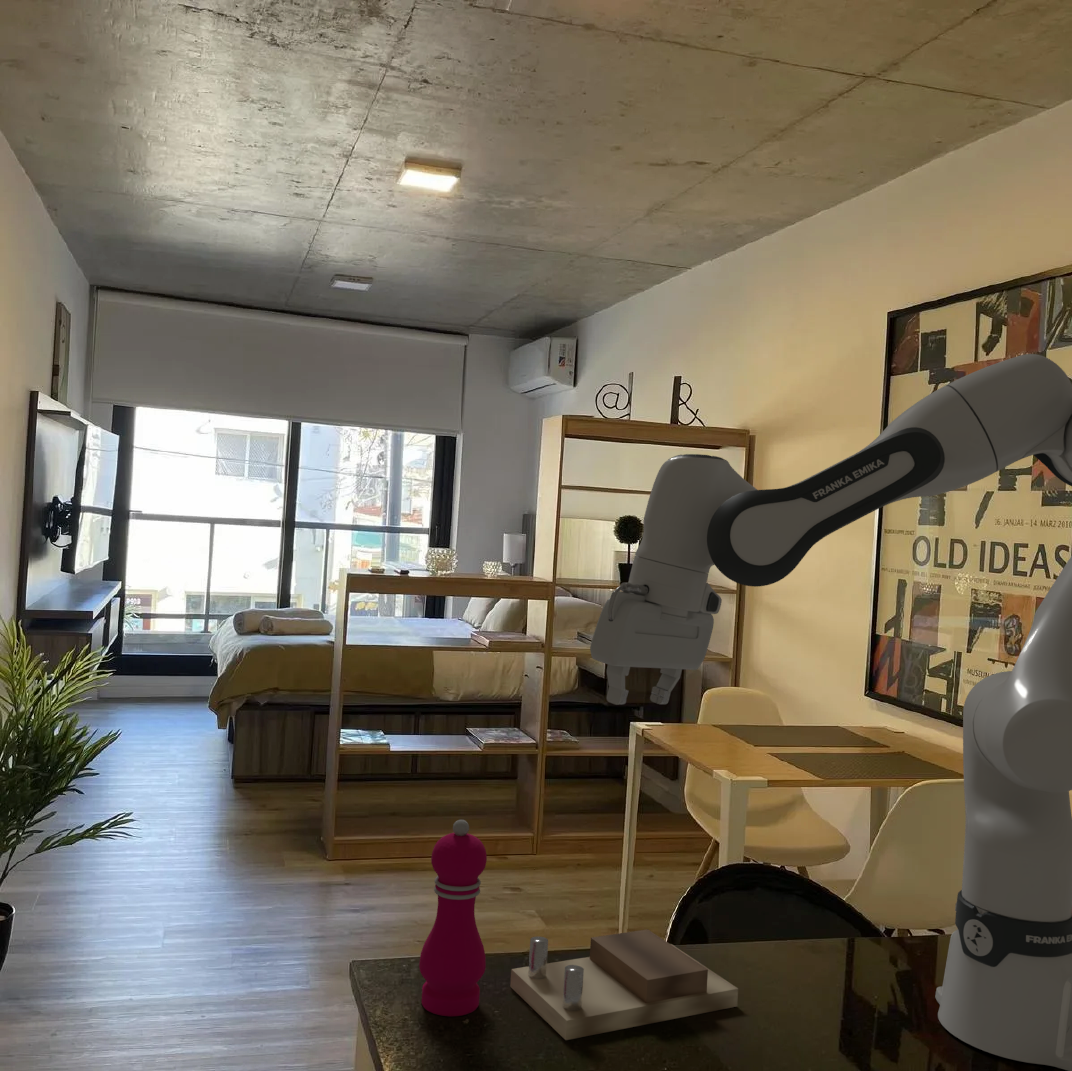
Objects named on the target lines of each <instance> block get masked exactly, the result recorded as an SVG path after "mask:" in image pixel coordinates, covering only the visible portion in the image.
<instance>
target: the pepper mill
mask: <svg viewBox="0 0 1072 1071" xmlns="http://www.w3.org/2000/svg"><path fill="white" fill-rule="evenodd" d="M469 831H470V825H469V823H468V822H467V820H465V819H458V820H456V821H455V822H454V823H453V824H452V832H450V833H447V834H445V835H444V836H442V837H440V838H439V839H438V840H437V842H436V843H435V844H434V847H433V849H432V852H431V856H430V857H431V860H430V862H431V865H432V868H433V870H434V872H435V873H436V875H437V876H436V877H435V878H434V884H435V886H434V888H433V891H434V893H435V894H436V895H437V909H436V910H437V911H436V917H435V921H434V923H433V925H432V928H431V930H430V932H429V934H428V936H427V938H426V939H425V942H424V943H423V946H422V948H421V951H420V957H419V964H418V967H419V972H420V974H421V976H422V977H423V979H424V980H425V982H424V983H423V984H422V988H421V1005H422V1007H423V1008H424V1009H425V1010H426V1011H428V1012H429V1013H431V1014H434V1015H438V1016H442V1017H460V1016H461V1017H462V1016H465V1015H466V1016H467V1015H468V1014H471V1013H473V1012H475V1011H476V1010H477V1008H478V1007H479V1005H480V992H481V991H480V990H481V988H480V986H479V985H478V982H479V981H480V979H482V977H483V975H484V974H485V972H486V968H487V966H486V964H487V962H486V961H487V960H486V953H485V952H486V951H485V947H484V944H483V941H482V937H481V936H480V932H479V929H478V926H477V924H476V916H475V907H476V906H475V904H476V899H477V896H479V895H480V894H481V888H480V886H481V884H482V881H481V879H480V878H479V877H480V875H481V874H482V873H484V872H483V871H485V868H486V867H487V866H486V865H487V861H488V860H487V859H488V858H487V857H488V856H487V850H486V848H485V844H483V843H484V842H482V841H481V839H480V838H478V837H476V836H475V835H473V834H471V833H469Z"/></svg>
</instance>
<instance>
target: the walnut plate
mask: <svg viewBox="0 0 1072 1071" xmlns="http://www.w3.org/2000/svg"><path fill="white" fill-rule="evenodd" d="M671 944H672V943H669V942H668V941H666V940H664V939H663V938H661V936H659V935H657V934H656V933H654V932H652V931H651V930H649V929H642V930H641V929H640V930H635V931H627V932H621V933H620V932H619V933H613V934H607V935H599V936H593V937H590V944H589V945H590V947H589V957H590V960H592V961H593V962H594V963H596V964H597V965H598V966H599V967H601V968H602V969H603V970H604V971H606V972H607V973H608V974H609V975H611V976H612V977H613V978H615V979H616V980H617V981H618V982H620V983H621V984H622V985H623V986H625V987H626V988H627V989H629V990H630V991H631V992H632V993H634V994H635V995H636V996H637V997H639V998H640V999H641V1000H642V1001H644V1002H645V1003H651V1002H656V1001H661V1000H667V999H672V998H678V997H683V996H688V995H694V994H699V993H704V992H707V978H708V969H709V968H708V969H706V968H705V967H706V966H705V967H703V966H702V965H703V964H702V965H700V964H699V963H700V962H699V963H697V962H696V961H697V960H696V961H694V960H693V959H694V958H693V959H691V958H690V957H691V956H690V957H688V956H687V955H688V954H687V955H685V954H684V953H685V952H684V951H683V952H684V953H683V952H681V951H682V950H681V949H680V950H681V951H680V950H678V949H679V948H678V947H677V948H678V949H677V948H675V947H676V946H675V945H674V946H675V947H674V946H672V945H673V944H672V945H671Z"/></svg>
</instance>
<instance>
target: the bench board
mask: <svg viewBox="0 0 1072 1071" xmlns="http://www.w3.org/2000/svg"><path fill="white" fill-rule="evenodd" d="M670 944H671V945H672V946H674V947H675V948H677V949H678V950H680V951H681V952H683V953H684V954H685V955H687V956H688V957H690V958H691V959H693V960H694V961H696V962H697V963H699V964H700V965H702V966H703V967H705V968H706V969H708V978H707V992H704V993H699V994H694V995H688V996H683V997H678V998H672V999H667V1000H661V1001H656V1002H651V1003H645V1002H644V1001H642V1000H641V999H640V998H639V997H637V996H636V995H635V994H634V993H632V992H631V991H630V990H629V989H627V988H626V987H625V986H623V985H622V984H621V983H620V982H618V981H617V980H616V979H615V978H613V977H612V976H611V975H609V974H608V973H607V972H606V971H604V970H603V969H602V968H601V967H599V966H598V965H597V964H596V963H594V962H593V961H592V960H590V956H587V957H580V958H573V959H567V960H562V961H561V960H560V961H554V962H550V963H549V962H548V952H549V951H548V949H549V948H548V947H549V939H548V938H547V937H544V936H533V937H531V938H530V941H529V955H528V957H529V958H528V966H523V967H517V968H511V970H510V986H509V987H510V988H511V990H513V991H514V992H515V993H516V994H517V995H518V996H520V998H521V999H522V1000H524V1002H525V1003H526V1004H528V1005H529V1007H530V1008H532V1009H533V1010H534V1011H535V1012H536V1013H537V1014H538V1015H539V1016H540V1017H541V1018H542V1019H543V1020H544V1021H545V1022H546V1023H548V1025H549V1026H550V1027H552V1029H553V1030H554V1031H555V1032H556V1033H558V1034H559V1035H560V1037H562V1038H563V1039H564V1040H565V1041H569V1040H574V1039H579V1038H584V1037H588V1036H589V1037H591V1036H593V1035H594V1036H595V1035H599V1034H603V1033H604V1034H605V1033H610V1032H614V1031H619V1030H624V1029H630V1028H633V1027H634V1028H635V1027H640V1026H644V1025H650V1024H654V1023H660V1022H665V1021H670V1020H674V1019H675V1020H676V1019H680V1018H685V1017H689V1016H696V1015H700V1014H705V1013H706V1014H707V1013H711V1012H717V1011H721V1010H725V1009H730V1008H734V1007H738V999H739V998H738V997H739V988H738V987H737V986H735V985H733V984H732V983H731V982H729V981H727V980H726V979H724V978H723V977H722V976H720V975H719V974H718V973H715V972H714V971H712V970H711V969H709V968H708V967H707V966H705V964H703V963H700V962H699V961H698V960H696V959H695V958H693V957H692V956H690V955H689V954H687V953H685V952H684V951H682V950H681V949H679V948H678V947H676V945H674V944H672V943H670Z"/></svg>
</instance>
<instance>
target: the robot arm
mask: <svg viewBox="0 0 1072 1071" xmlns="http://www.w3.org/2000/svg"><path fill="white" fill-rule="evenodd" d="M1031 456H1034V457H1035V458H1036V459H1037V461H1039V462H1040V463H1042V465H1044V466H1045V467H1046V468H1047V469H1048V470H1049V471H1050V473H1052V474H1053V475H1054V476H1055V477H1056V478H1057V479H1059V480H1060V481H1061V482H1063V483H1064V484H1065V485H1068V486H1070V487H1072V382H1071V380H1070V378H1069V377H1068V375H1067V374H1066V372H1065V371H1064V370H1063V369H1062V368H1061V367H1060V366H1059V365H1058V364H1057V363H1056V362H1054V361H1053V360H1052V359H1050V358H1049V357H1046V356H1044V355H1041V354H1037V353H1036V354H1034V353H1029V354H1027V353H1026V354H1021V355H1018V356H1014V357H1011V358H1007V359H1005V360H1002V361H998V362H996V363H994V364H991V365H988V366H986V367H983V368H980V369H978V370H976V371H973V372H971V373H968V374H967V375H964V376H962V377H960V378H958V379H956V380H954V381H951V382H950V383H948V384H946V385H944V386H942V387H940V388H938V389H936V390H935V391H933V392H930V393H929V394H928V395H926V396H925V397H923V398H922V399H920V400H918V401H917V402H916V403H914V404H913V405H911V406H909V407H908V408H907V409H905V411H903V412H901V414H899V415H898V416H897V417H896V418H894V419H893V420H891V422H890V423H889V424H888V425H887V426H886V428H884V430H882V432H881V433H879V435H878V436H877V437H876V438H875V439H874V440H873V441H871V442H870V443H869V444H867V446H865V447H864V448H862V449H860V450H859V451H857V452H856V453H854V454H852V455H850V456H848V457H846V458H844V459H843V460H841V461H839V462H836V463H834V464H832V465H830V466H829V467H827V468H825V469H823V470H821V471H819V472H817V473H815V474H813V475H811V476H809V477H807V478H806V479H803V480H801V481H799V482H797V483H794V484H792V485H788V486H787V487H780V488H772V489H757V488H756V487H755V486H754V485H752V484H750V483H749V482H748V481H747V480H746V479H744V477H742V476H741V475H740V474H739V473H738V472H737V471H736V470H735V469H734V468H733V466H732V465H731V464H730V462H729V461H728V460H727V459H724V458H723V457H720V456H716V455H708V454H699V453H695V454H694V453H690V454H689V453H686V454H677V455H674V456H672V457H669V458H668V459H667V460H666V461H664V463H663V464H662V465H661V467H660V468H659V470H658V472H657V475H656V477H655V479H654V481H653V484H652V487H651V491H650V495H649V498H648V501H647V505H646V508H645V513H644V517H643V535H642V538H641V541H640V544H639V545H638V547H637V549H636V550H635V554H634V557H633V560H632V566H631V569H630V573H629V577H628V582H622V583H620V585H619V586H618V587H617V588H616V589H614V590H613V591H612V592H611V594H610V597H609V598H608V599H607V600H606V601H605V603H604V605H603V607H602V609H601V612H600V615H599V617H598V621H597V623H596V626H595V629H594V633H593V636H592V639H591V642H590V646H589V648H590V649H589V650H590V651H589V652H590V654H591V658H592V659H593V660H595V661H597V662H600V663H602V664H606V665H607V667H606V676H607V684H608V686H609V687H608V689H607V695H606V701H607V702H608V703H610V704H613V705H616V706H617V705H625V704H626V703H627V698H628V697H629V696H628V694H629V690H628V689H626V677H627V676H629V674H630V670H631V668H646V669H647V668H648V669H650V668H651V669H660V671H659V673H660V674H661V675H660V677H659V679H658V682H657V683H656V685H655V686H652V687H651V694H650V697H649V701H651V702H652V703H655V704H657V705H667V704H668V703H669V701H670V697H671V693H672V691H673V689H674V688H675V687H676V685H677V683H678V682H679V680H680V679H681V675H682V671H683V670H689V671H690V670H691V671H697V670H698V669H699V668H700V666H701V665H702V663H703V662H704V660H705V658H706V656H707V651H708V649H709V645H710V641H711V638H712V633H713V629H714V623H715V620H714V617H713V615H717V614H719V612H720V610H721V606H722V597H721V596H720V595H719V594H718V593H717V592H716V591H715V589H713V587H712V586H711V585H710V584H709V583H708V582H707V581H708V577H709V573H710V569H711V568H712V567H713V566H715V567H716V569H717V570H718V571H719V572H720V573H721V574H722V575H723V576H725V577H726V578H727V579H729V580H730V581H732V582H734V583H737V584H739V585H742V586H746V587H747V586H748V587H766V586H770V585H773V584H775V583H778V582H780V581H781V580H783V579H784V578H786V577H787V576H789V575H790V574H791V573H792V572H793V571H794V570H795V569H796V568H797V566H798V565H799V564H800V562H801V561H802V560H803V558H805V556H806V555H807V554H808V552H809V551H810V550H811V549H812V548H813V546H814V545H816V544H817V543H818V542H819V541H821V540H823V539H824V538H825V537H827V536H830V535H831V534H833V533H834V532H836V531H838V530H840V529H841V528H844V527H846V526H848V525H850V524H853V523H854V522H855V521H857V520H859V519H861V518H864V517H865V516H867V515H869V514H871V513H873V512H874V511H877V510H878V509H880V508H883V507H885V506H887V505H890V504H893V503H896V502H898V501H902V500H906V499H912V498H917V497H918V498H919V497H921V498H922V497H933V496H938V495H941V494H945V493H948V492H952V491H956V490H959V489H961V488H963V487H965V486H966V487H967V486H968V485H971V484H974V483H976V482H979V481H981V480H983V479H985V478H987V477H989V476H991V475H993V474H995V473H997V472H999V471H1001V470H1003V469H1005V468H1006V467H1009V466H1010V465H1012V464H1014V463H1016V462H1018V461H1021V460H1022V459H1025V458H1026V459H1027V457H1028V458H1029V457H1031ZM963 704H964V705H963V707H962V708H963V709H962V710H963V711H962V719H963V721H962V726H963V728H962V753H963V754H962V756H963V757H962V758H963V762H962V763H963V764H962V766H963V768H962V769H963V793H964V808H965V809H964V810H965V811H964V812H965V829H964V832H965V833H964V847H963V849H964V850H963V851H964V853H963V863H962V864H963V865H962V881H961V882H962V883H961V889H960V890H959V891H958V892H957V897H956V903H955V908H954V911H955V920H954V923H955V926H956V928H957V929H955V930H954V931H953V932H951V936H950V939H949V945H948V950H947V955H946V956H947V958H946V964H945V969H944V975H943V981H942V986H938V987H936V991H935V997H934V998H935V999H936V1002H937V1003H938V1004H939V1008H938V1012H937V1019H938V1020H939V1022H940V1024H941V1025H942V1027H943V1028H944V1029H945V1030H947V1031H948V1032H949V1033H950V1034H951V1035H953V1036H954V1037H955V1038H958V1040H960V1041H962V1042H964V1043H966V1044H968V1045H969V1046H972V1047H974V1048H976V1049H979V1050H982V1051H983V1052H986V1053H989V1054H992V1055H995V1056H998V1057H1001V1058H1005V1059H1009V1060H1013V1061H1017V1062H1023V1063H1028V1064H1036V1065H1045V1066H1050V1067H1055V1068H1057V1069H1062V1070H1065V1071H1072V808H1071V800H1070V799H1071V798H1070V791H1072V555H1070V557H1069V559H1068V560H1067V562H1066V564H1065V565H1064V566H1063V568H1062V570H1061V571H1060V573H1059V574H1058V575H1057V577H1056V579H1055V581H1054V582H1053V584H1052V585H1051V587H1050V588H1049V590H1048V592H1047V593H1046V595H1045V597H1044V598H1043V600H1042V601H1041V603H1040V605H1039V606H1038V607H1037V609H1036V611H1035V614H1034V616H1033V621H1032V624H1031V628H1030V630H1029V633H1028V635H1027V637H1026V640H1025V642H1024V643H1023V646H1022V649H1021V650H1020V653H1019V655H1018V657H1017V660H1016V662H1015V664H1014V665H1013V668H1012V670H1009V671H1001V672H996V673H993V674H991V675H988V676H986V677H984V678H982V679H980V680H979V681H978V682H977V683H976V684H975V685H974V686H973V687H972V688H971V689H970V690H969V692H968V694H967V696H966V698H965V701H964V703H963Z"/></svg>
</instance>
